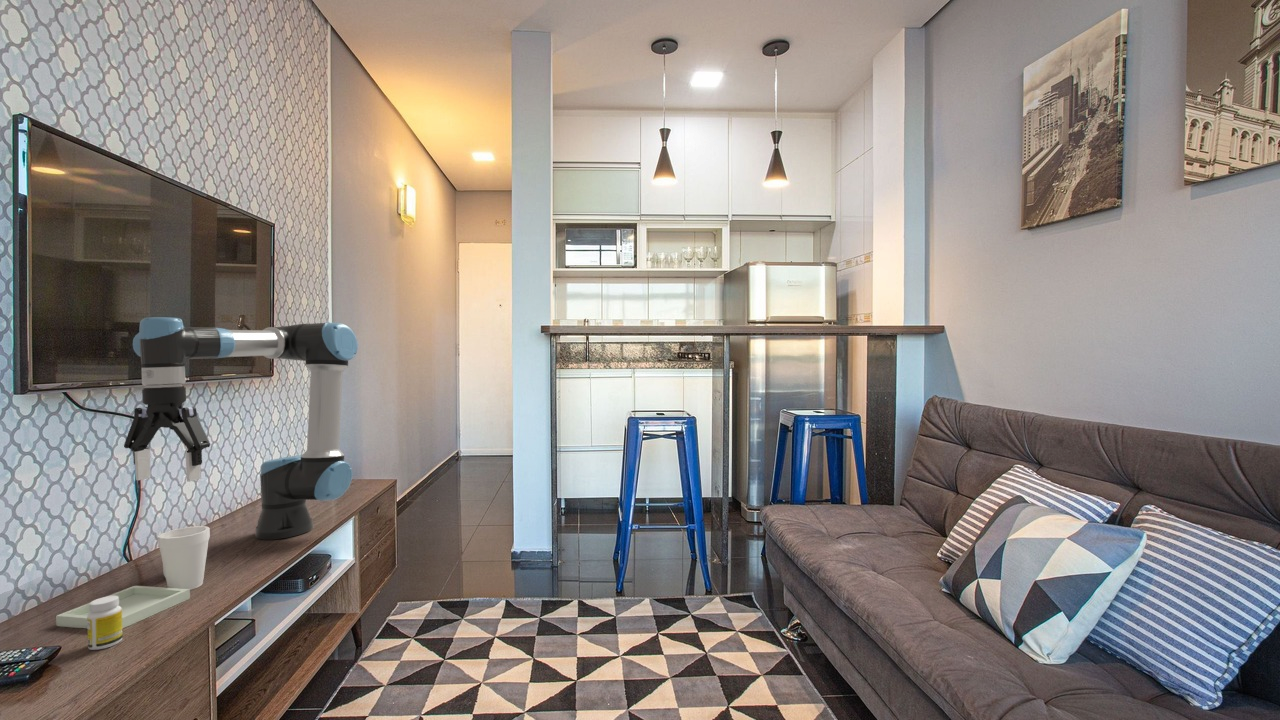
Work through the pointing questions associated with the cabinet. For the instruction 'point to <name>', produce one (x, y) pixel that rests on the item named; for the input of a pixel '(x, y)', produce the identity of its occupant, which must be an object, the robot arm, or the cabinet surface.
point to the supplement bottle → (104, 623)
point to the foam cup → (184, 556)
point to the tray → (130, 605)
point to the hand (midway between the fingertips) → (168, 479)
